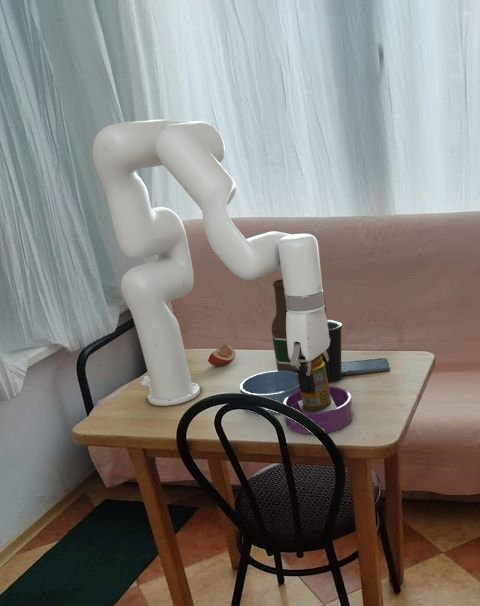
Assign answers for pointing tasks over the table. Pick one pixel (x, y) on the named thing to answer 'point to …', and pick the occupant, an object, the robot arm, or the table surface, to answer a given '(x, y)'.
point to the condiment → (317, 390)
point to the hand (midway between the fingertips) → (315, 385)
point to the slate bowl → (271, 385)
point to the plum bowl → (326, 419)
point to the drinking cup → (334, 349)
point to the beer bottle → (280, 329)
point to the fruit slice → (222, 356)
